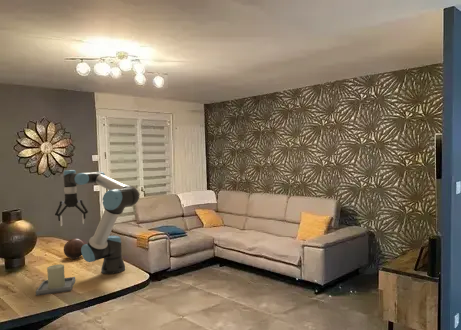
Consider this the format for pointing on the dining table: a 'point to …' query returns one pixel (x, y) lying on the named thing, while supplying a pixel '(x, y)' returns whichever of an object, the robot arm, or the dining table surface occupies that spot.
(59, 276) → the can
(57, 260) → the dining table surface
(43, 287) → the tray
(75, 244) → the wooden sphere
